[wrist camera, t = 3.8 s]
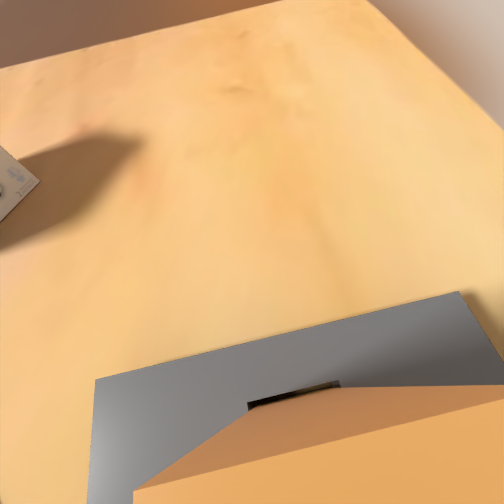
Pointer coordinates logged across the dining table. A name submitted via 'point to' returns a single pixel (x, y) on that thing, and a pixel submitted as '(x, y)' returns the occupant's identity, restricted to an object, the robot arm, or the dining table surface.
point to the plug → (349, 451)
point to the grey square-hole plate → (275, 383)
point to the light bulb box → (13, 182)
